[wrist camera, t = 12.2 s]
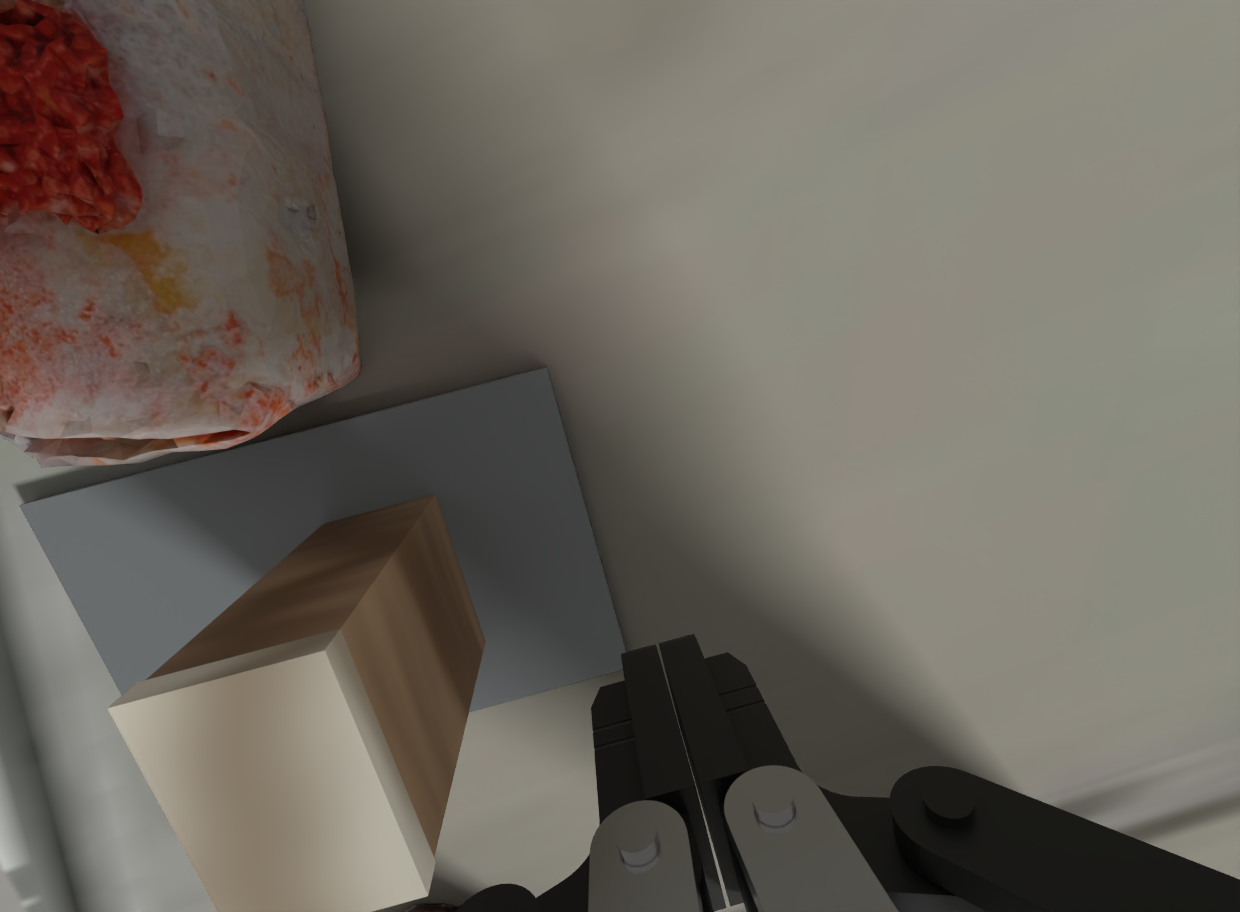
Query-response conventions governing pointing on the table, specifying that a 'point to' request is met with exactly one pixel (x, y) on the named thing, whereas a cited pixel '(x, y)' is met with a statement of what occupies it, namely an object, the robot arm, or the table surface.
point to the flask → (432, 908)
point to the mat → (342, 487)
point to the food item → (164, 228)
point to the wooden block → (318, 720)
